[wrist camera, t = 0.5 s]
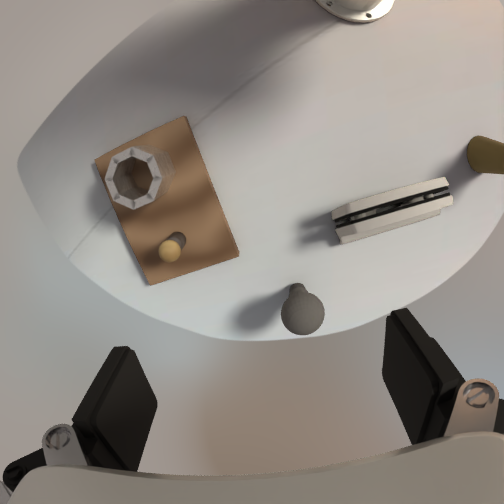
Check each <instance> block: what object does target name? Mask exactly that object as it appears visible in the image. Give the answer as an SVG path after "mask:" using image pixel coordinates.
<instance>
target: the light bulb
mask: <svg viewBox="0 0 504 504" xmlns="http://www.w3.org/2000/svg"><path fill="white" fill-rule="evenodd" d="M324 315H325V312H324V307H323V304H322V302H321V301H320V300H319V299H318V297H317V296H315V295H314V294H311V293H308V291H307V290H306V289H305V287H304V285H302V284H300V283H295V284H293V285H292V286H291V287H290V294H289V298H288V299H287V300H286V301H285V302H284V304H283V307H282V310H281V318H282V321H283V324H284V325H285V327H286V328H287V329H288V330H289V331H290V332H292V333H294V334H297V335H308V334H311V333H313V332H315V331H316V330H317V329H318V328H319V327H320V326H321V324H322V322H323V320H324Z"/></svg>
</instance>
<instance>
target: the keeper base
mask: <svg viewBox="0 0 504 504" xmlns="http://www.w3.org/2000/svg"><path fill="white" fill-rule="evenodd" d="M141 145H152V146H154V147H157V148H159V149H161V150H164V151H166V152H168V154H169V156H170V159H171V161H172V164H173V166H174V169H175V171H176V173H175V175H174V178H173V180H172V183H171V185H170V188H169V190H168V192H166V193H165V194H163V195H162V196H160V197H159V198H157V199H156V200H154V201H153V202H150V203H148V204H146V205H143V206H141V207H139V208H136V209H134V210H133V209H131V208H128V207H126V206H124V205H122V204H120V203H117V202H115V201H113V199H112V196H111V194H110V191H109V189H108V187H107V184H106V182H105V176H106V173H107V170H108V167H109V164H110V161H111V158H112V157H113V156H115V155H116V154H118V153H120V152H122V151H124V150H126V149H128V148H130V147H133V146H141ZM95 163H96V166H97V168H98V171H99V173H100V176H101V178H102V181H103V183H104V186H105V188H106V191H107V193H108V195H109V198H110V200H111V203H112V205H113V207H114V210H115V212H116V214H117V216H118V219H119V221H120V223H121V225H122V228H123V230H124V232H125V234H126V236H127V239H128V241H129V243H130V245H131V247H132V249H133V251H134V254H135V256H136V258H137V260H138V262H139V264H140V266H141V268H142V270H143V272H144V274H145V276H146V278H147V280H148V282H149V284H150V286H151V285H154V284H157V283H160V282H163V281H166V280H169V279H172V278H175V277H178V276H181V275H184V274H187V273H190V272H193V271H196V270H199V269H202V268H205V267H208V266H211V265H214V264H217V263H220V262H223V261H226V260H229V259H233V258H236V257H239V250H238V248H237V245H236V243H235V240H234V238H233V235H232V233H231V230H230V228H229V225H228V223H227V220H226V218H225V215H224V213H223V210H222V207H221V205H220V202H219V200H218V197H217V195H216V192H215V190H214V187H213V184H212V182H211V179H210V177H209V174H208V172H207V169H206V167H205V164H204V161H203V159H202V156H201V154H200V151H199V148H198V146H197V143H196V141H195V138H194V136H193V133H192V130H191V128H190V125H189V123H188V120H187V117H186V116H183V117H180V118H178V119H176V120H173V121H171V122H169V123H167V124H164V125H162V126H160V127H158V128H156V129H154V130H151V131H149V132H147V133H145V134H143V135H141V136H139V137H137V138H135V139H133V140H131V141H129V142H127V143H125V144H123V145H121V146H119V147H117V148H115V149H113V150H112V151H110V152H108V153H106V154H104V155H102V156H101V157H99V158H97V159H95ZM131 173H132V175H133V178H134V180H135V183H136V185H137V186H138V187H141V188H143V189H145V190H148V191H149V189H150V186H151V183H152V181H153V176H152V174H151V171H150V169H149V166H148V164H147V162H145V161H143V160H140V159H138V158H137V159H136V161H135V164H134V166H133V169H132V172H131Z"/></svg>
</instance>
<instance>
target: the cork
mask: <svg viewBox="0 0 504 504" xmlns="http://www.w3.org/2000/svg"><path fill="white" fill-rule="evenodd" d="M467 158H468V162H469V164H470V166H471V168H472V169H473V170H474V171H476V172H478V173H493V174H504V143H501V142H498V141H495V140H492V139H489V138H486V137H483V136H475V137H473V138H472V139H471V140H470V142H469V144H468V148H467Z"/></svg>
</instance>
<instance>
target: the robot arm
mask: <svg viewBox="0 0 504 504" xmlns="http://www.w3.org/2000/svg"><path fill="white" fill-rule="evenodd" d="M316 1H317V3H319V4H320V5H321V6H322V7H323V8H324V9H325V10H327V11H328V12H330V13H331V14H333V15H335V16H337V17H339V18H342V19H345V20H348V21H353V22H361V23H365V22H372V21H376V20H378V19H380V18H382V17H384V16H385V15H386V14H387V13H388V12H389V11H390V10H391V8H392V6H393V4H394V0H316ZM328 5H330V6H328ZM366 16H367V17H368V18H367V17H366ZM382 376H383V380H384V382H385V384H386V387H387V389H388V391H389V393H390V395H391V398H392V400H393V402H394V404H395V406H396V409H397V411H398V413H399V415H400V418H401V420H402V422H403V425H404V427H405V430H406V432H407V434H408V437H409V439H410V441H411V444H412V445H411V446H408V447H405V448H401V449H397V450H394V451H390V452H387V453H382V454H378V455H374V456H370V457H366V458H361V459H357V460H352V461H348V462H343V463H338V464H332V465H327V466H321V467H314V468H308V469H301V470H293V471H284V472H274V473H264V474H248V475H223V476H195V475H193V476H192V475H169V474H155V473H154V474H153V473H143V472H137V470H138V467H139V463H140V460H141V457H142V454H143V450H144V447H145V444H146V441H147V438H148V434H149V431H150V428H151V424H152V422H153V419H154V416H155V412H156V409H157V400H156V397H155V395H154V393H153V391H152V389H151V386H150V384H149V382H148V380H147V378H146V376H145V374H144V371H143V369H142V367H141V365H140V362H139V360H138V358H137V356H136V353H135V352H134V350H131V349H130V348H129V347H128V346H122V347H121V346H120V347H114V348H113V349H112V350H111V352H110V354H109V355H108V357H107V359H106V361H105V362H104V364H103V365H102V367H101V369H100V370H99V372H98V374H97V376H96V377H95V379H94V381H93V382H92V384H91V386H90V388H89V389H88V391H87V393H86V395H85V396H84V398H83V400H82V402H81V403H80V405H79V407H78V409H77V411H76V412H75V414H74V416H73V418H72V421H73V422H74V423H73V425H72V427H71V426H70V425H67V424H58V425H55V426H53V427H51V428H50V429H49V430H47V431H46V433H45V434H44V436H43V439H42V447H43V448H41V449H39V450H37V451H35V452H33V453H31V454H29V455H27V456H24V457H22V458H20V459H18V460H16V461H14V462H12V463H10V464H9V465H8V466H7V467H6V469H5V471H4V473H3V482H1V481H0V504H504V400H503V399H499V392H498V390H497V387H496V386H495V385H494V384H493V383H491V382H490V381H487V380H484V379H471V380H469V381H467V382H466V381H465V380H464V378H463V377H462V375H461V374H460V373H459V371H458V370H457V368H456V367H455V366H454V364H453V363H452V362H451V360H450V359H449V357H448V356H447V355H446V354H445V352H444V351H443V349H442V348H441V347H440V345H439V344H438V343H437V342H436V340H435V339H434V338H431V337H429V336H428V334H427V333H426V332H425V330H424V329H423V328H422V326H421V325H420V324H419V323H418V321H417V320H416V319H415V317H414V316H413V315H412V314H411V312H410V311H409V310H408V309H407V308H403V309H398V310H394V311H392V312H391V314H390V316H387V318H386V332H385V347H384V357H383V368H382Z"/></svg>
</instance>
